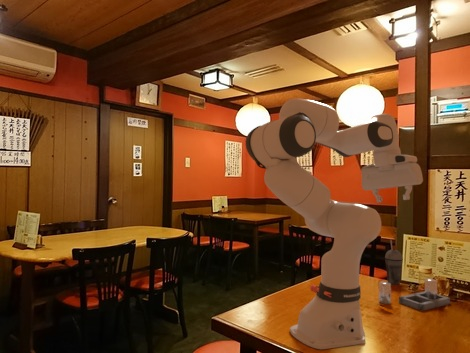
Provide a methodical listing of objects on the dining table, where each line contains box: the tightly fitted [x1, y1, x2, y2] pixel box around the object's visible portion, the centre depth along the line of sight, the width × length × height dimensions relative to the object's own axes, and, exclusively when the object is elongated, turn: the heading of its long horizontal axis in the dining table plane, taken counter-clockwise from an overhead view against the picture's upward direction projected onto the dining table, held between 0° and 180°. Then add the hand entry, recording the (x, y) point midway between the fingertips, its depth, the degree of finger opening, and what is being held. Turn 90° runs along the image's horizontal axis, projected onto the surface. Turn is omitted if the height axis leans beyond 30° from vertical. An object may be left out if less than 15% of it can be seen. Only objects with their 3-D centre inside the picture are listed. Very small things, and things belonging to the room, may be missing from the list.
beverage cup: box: [384, 239, 404, 286], centre depth 150 cm, size 7×7×20 cm
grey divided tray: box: [398, 290, 451, 312], centre depth 125 cm, size 16×9×3 cm, turn 117°
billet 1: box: [378, 281, 392, 308], centre depth 126 cm, size 4×4×8 cm
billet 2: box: [424, 277, 438, 300], centre depth 127 cm, size 4×4×8 cm
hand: (392, 201), depth 117 cm, fingers open, 8 cm apart
